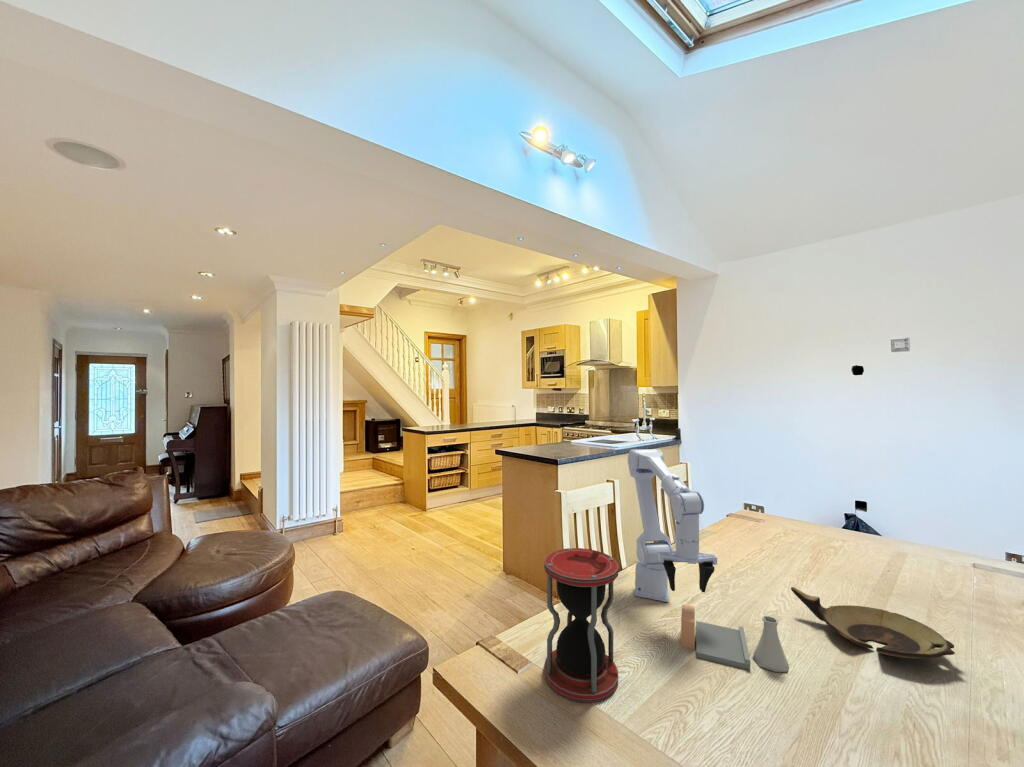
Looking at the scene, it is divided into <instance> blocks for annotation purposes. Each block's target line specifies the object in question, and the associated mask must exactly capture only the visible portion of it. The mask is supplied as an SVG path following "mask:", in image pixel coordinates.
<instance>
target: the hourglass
mask: <svg viewBox="0 0 1024 767" xmlns="http://www.w3.org/2000/svg"><path fill="white" fill-rule="evenodd" d="M543 562H544V564H543V568H544V571H545V573H546V574H547V578H546V583H547V585H546V587H547V588H546V591H547V592H546V594H547V595H546V598H547V599H546V607H547V608H548V611H549V612H550V614H551V615H552V617H553V626H552V628H551V630H550V631H549V633H548V635H547V638H546V657H545V661H544V664H543V674H544V679H545V681H546V682H547V684H548V686H549V687H550V688H551V690H553V691H555V692H556V693H557V694H558V695H559V696H561V697H563V698H566V699H568V700H570V701H574V702H579V703H580V702H581V703H597V702H600V701H603V700H605V699H607V698H609V697H610V696H611V695H613V694H614V693H615V692H616V690H617V688H618V686H619V670H618V668H617V665H616V663H615V662H614V630H613V626H612V624H611V623H610V622H609V621H608V612H609V609H610V608H611V606H612V604H613V602H614V581H615V580H616V579H617V578H618V577H619V563H618V562H617V560H616V559H615V558H613V557H612V556H610V555H608V554H606V553H604V552H602V551H599V550H595V549H591V548H583V547H582V548H581V547H568V548H563V549H562V548H561V549H557V550H555V551H552V552H550V553H549V554H547V555H546V556H545V559H544V561H543ZM553 580H555V581H556V584H555V585H556V592H557V595H558V598H559V600H560V602H561V604H562V605H563V607H565V608H566V610H568V612H567V614H566V615H567V616H566V617H567V618H566V626H565V627H564V628H562V629H561V632H559V635H558V638H557V642H556V648H555V649H554V650H553V640H554V637H555V635H556V634H557V632H558V631H559V628H560V624H561V618H560V615H559V612H558V611H556V609H555V606H554V605H553ZM607 585H608V591H607V592H608V597H607V599H606V602H605V603H604V600H605V596H606V588H607V587H606V586H607ZM603 603H604V605H603V606H602V604H603ZM601 606H602V608H601V612H600V619H601V622H602V624H603V625H604V627H605V628H606V630H607V632H608V633H607V634H608V636H607V637H608V638H607V639H608V644H607V645H608V647H607V648H608V649H607V651H608V652H607V653H608V655H607V654H606V646H605V645H606V644H605V643H604V640H603V639H602V636H601V634H600V633H599V631H598V630H597V629H596V626H597V622H598V620H597V618H598V617H597V616H598V614H597V613H598V612H597V611H598V609H599V608H600V607H601ZM590 616H591V618H590V622H589V621H588V618H589V617H590ZM573 617H574V619H573Z"/></svg>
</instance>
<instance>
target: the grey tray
mask: <svg viewBox="0 0 1024 767" xmlns="http://www.w3.org/2000/svg"><path fill="white" fill-rule="evenodd" d="M695 624H696V625H695V629H696V630H695V642H696V644H695V645H696V648H695V649H696V653H695V654H696V658H698V659H703V660H706V661H710V662H715V663H719V664H723V665H727V666H731V667H735V668H739V669H744V670H748V671H751V658H750V653H749V647H748V643H747V638H746V634H745V629H744V626H741V625H739V626H738V629H736V628H731V627H726V626H721V625H718V624H717V625H716V624H712V623H706V622H703V621H698V620H696V621H695Z"/></svg>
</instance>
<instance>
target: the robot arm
mask: <svg viewBox="0 0 1024 767" xmlns="http://www.w3.org/2000/svg"><path fill="white" fill-rule="evenodd" d="M664 456H665V455H664V453H663V452H662V450H661V449H659V448H652V449H649V448H648V449H644V448H643V449H642V448H641V449H634V448H632V449H630V450H629V452H628V455H627V465H628V470H629V474H630V477H632V478H634V482H635V488H636V494H637V500H638V505H639V511H640V518H641V524H642V529H643V532H642V533H641V534H639V536H638V537H637V538H636V557H637V559H638V561H636V564H635V572H634V574H635V575H634V578H635V579H634V587H635V592H634V596H636V597H640V598H645V599H650V600H655V601H659V602H665V603H668V602H669V598H670V590H671V591H672V592H675V591H676V582H675V580H676V578H675V577H676V570H677V568H676V567H675V564H674V563H685V564H686V563H687V564H689V565H696V564H698V571H699V572H698V573H699V576H698V577H699V581H698V584H699V590H700V591H701V592H702V593H706V589H707V585H708V583H709V581H710V579H711V576H712V574H714V573H715V566H717V565H718V556H716V554H712V553H704V552H700V515H702V514H703V512H704V510H705V502H704V499H703V497H702V495H701V494H700V492H699V491H694V490H692V489H690V488H689V487H688V486H687V484H685V483H684V481H683V480H682V479H681V478H680V477H679V475H678V474H675V473H672V471H670V469H669V468H668V466H667V465H666V463H665V457H664ZM654 477H657V478H658V479H659V480H660V481H661V482H660V487H661V489H662V491H664V493H665V494H666V496H667V497H668V498H669V500H670V505H671V509H672V514H673V520H675V550H674V547H673V546H672V544H671V541H670V540H671V539H670V537H669V536H668V535H666V534H665V533H664V532H662V531H661V526H660V523H659V516H658V512H657V506H656V500H655V494H654V490H653V485H652V483H653V482H652V479H653V478H654ZM714 565H715V566H714ZM668 583H669V584H668Z"/></svg>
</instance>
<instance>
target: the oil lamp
mask: <svg viewBox="0 0 1024 767" xmlns="http://www.w3.org/2000/svg"><path fill="white" fill-rule="evenodd" d="M790 590H791V591H792V593H793V594H794V595H795V596H796V597H797V598H798V599H799V600H800V601H801V602H802V604H804V605H805V606H806V608H808V609H809V611H810V612H811V613H812V614H813V615H814V616H815V617H816V618H817V619H819V620H820V621H822V622H825V624H826V625H827V627H829V628H830V629H831V630H833V631H834V632H835V633H837V634H838V635H840V636H841V637H843V638H845V639H846V640H847V641H848V640H849V641H850V642H852V643H854V644H856V645H859V646H861V647H863V648H867V649H874V647H873V646H872V645H871V644H869V643H867V642H870V641H871V642H875V643H880V644H884V645H883V646H882V647H876V650H875V651H876V653H878V654H880V655H881V654H882V655H886V656H890V657H895V658H896V657H897V658H902V659H916V660H918V659H935V658H941V657H944V656H954V655H955V654H956V652H955V651H954V650H952V649H954V648H955V645H954V644H953V643H952V642H951V641H949V640H947V639H945V638H944V636H942V635H941V634H940V633H938V632H937V630H935V629H933V628H931V627H929V626H928V625H925V624H924V623H922V622H919V621H918V620H915V619H913V618H910V617H908V616H906V615H902V614H900V613H897V612H891V611H888V610H886V609H885V610H884V609H882V608H881V609H880V608H875V607H871V606H870V607H868V606H862V605H851V604H850V605H844V604H843V605H832V606H829V607H824V606H823V605H822V604H821V597H819V596H813V595H809V594H807V593H805V592H803V591H802V590H800V589H798V588H797V587H793V586H791V588H790Z"/></svg>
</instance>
